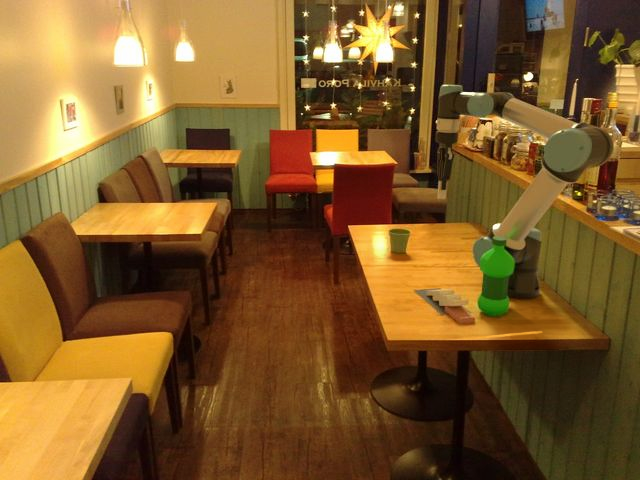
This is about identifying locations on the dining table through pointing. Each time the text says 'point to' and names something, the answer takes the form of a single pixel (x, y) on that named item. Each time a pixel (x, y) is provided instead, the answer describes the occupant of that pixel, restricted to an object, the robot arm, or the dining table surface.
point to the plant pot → (399, 239)
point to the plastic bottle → (495, 278)
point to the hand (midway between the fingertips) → (441, 198)
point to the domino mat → (430, 301)
